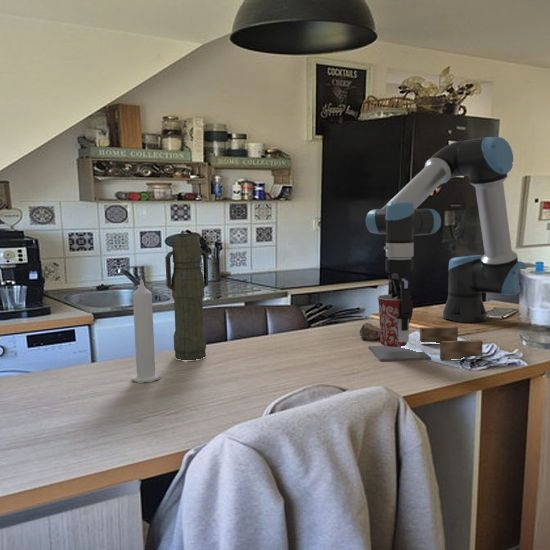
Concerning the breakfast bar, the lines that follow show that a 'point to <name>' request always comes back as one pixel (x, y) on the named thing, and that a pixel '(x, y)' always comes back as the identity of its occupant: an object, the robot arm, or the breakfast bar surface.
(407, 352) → the coaster
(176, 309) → the thermos
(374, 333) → the rock
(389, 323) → the mug
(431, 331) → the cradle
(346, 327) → the breakfast bar surface
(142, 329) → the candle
